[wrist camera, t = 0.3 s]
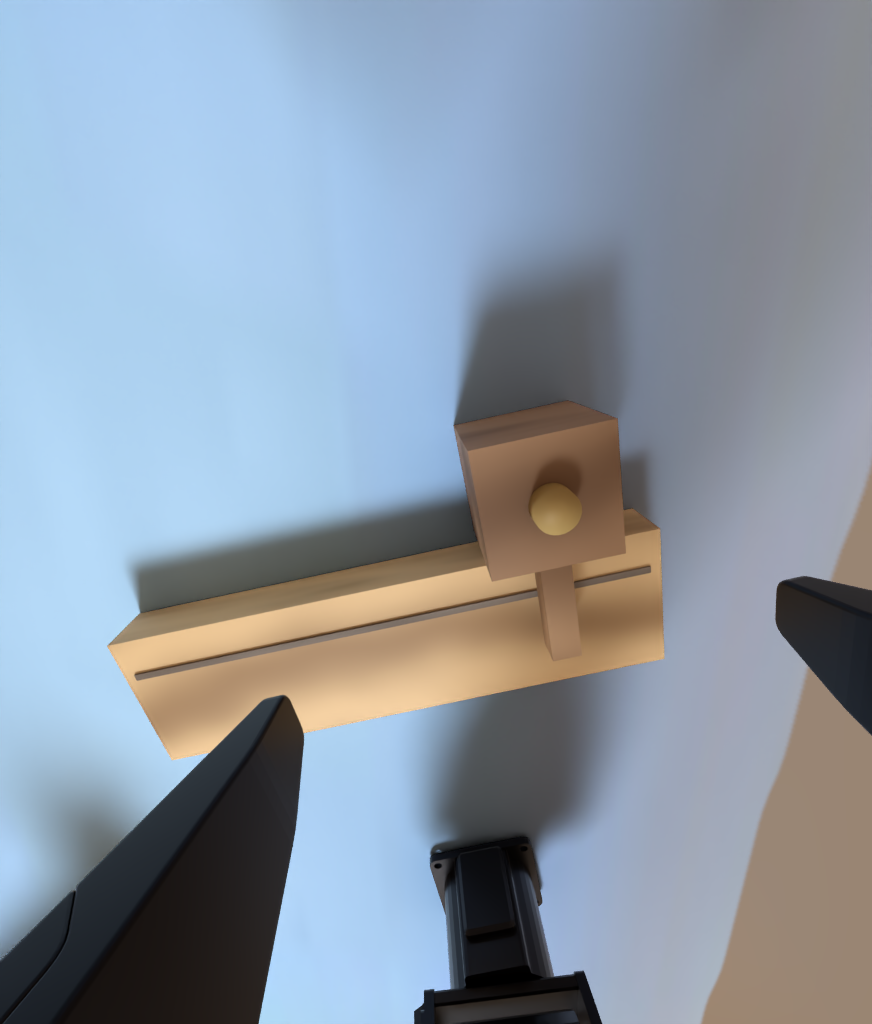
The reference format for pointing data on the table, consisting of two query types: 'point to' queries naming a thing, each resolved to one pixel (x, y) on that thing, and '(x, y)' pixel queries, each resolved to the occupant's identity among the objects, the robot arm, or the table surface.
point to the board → (382, 640)
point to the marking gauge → (545, 502)
